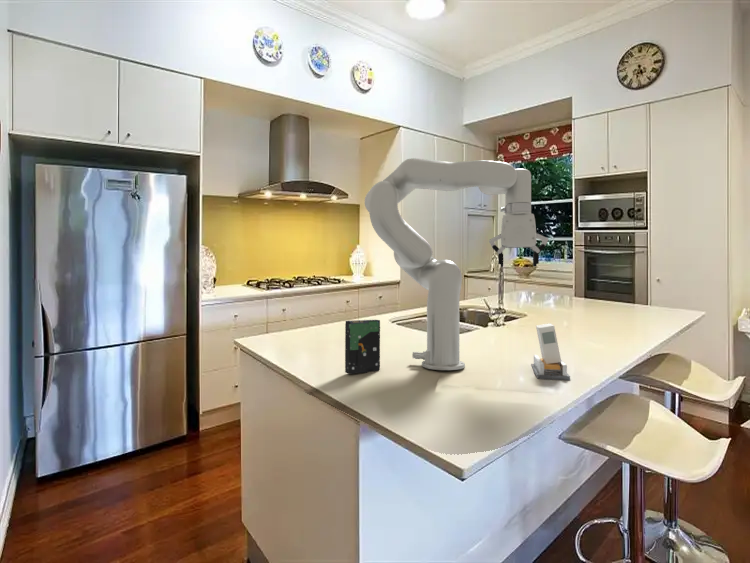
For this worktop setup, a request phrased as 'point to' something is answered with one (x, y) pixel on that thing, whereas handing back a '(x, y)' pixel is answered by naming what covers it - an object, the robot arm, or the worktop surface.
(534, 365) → the rail
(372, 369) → the disk drive
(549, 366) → the orange rectangular panel
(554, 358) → the block
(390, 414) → the worktop surface
